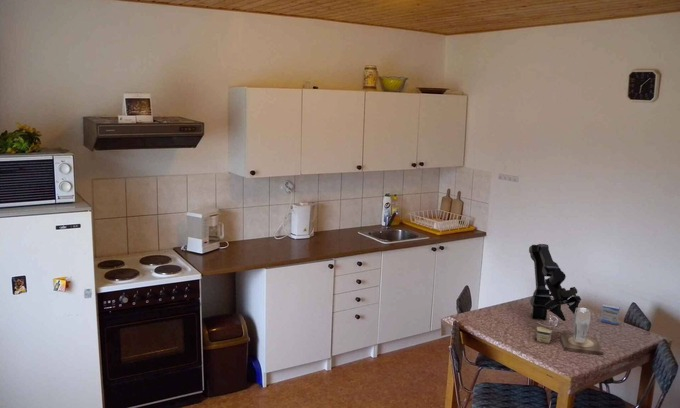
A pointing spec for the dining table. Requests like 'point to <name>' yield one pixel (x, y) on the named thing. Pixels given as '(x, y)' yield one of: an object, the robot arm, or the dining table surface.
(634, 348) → the dining table surface
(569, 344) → the walnut board
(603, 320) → the medicine box
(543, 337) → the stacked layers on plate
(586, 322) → the beer glass
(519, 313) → the dining table surface
